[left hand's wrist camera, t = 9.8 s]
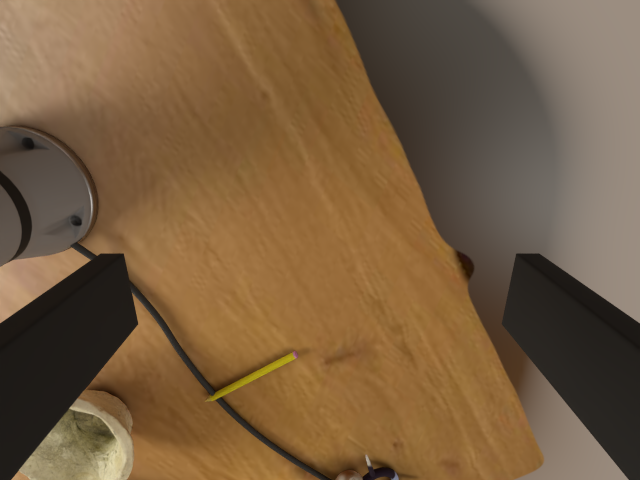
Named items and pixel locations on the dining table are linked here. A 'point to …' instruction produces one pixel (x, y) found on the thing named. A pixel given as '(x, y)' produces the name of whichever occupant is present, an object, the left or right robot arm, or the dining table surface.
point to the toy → (354, 479)
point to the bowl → (86, 442)
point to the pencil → (253, 376)
